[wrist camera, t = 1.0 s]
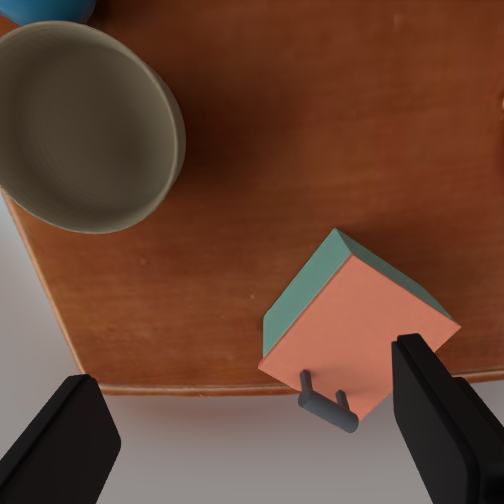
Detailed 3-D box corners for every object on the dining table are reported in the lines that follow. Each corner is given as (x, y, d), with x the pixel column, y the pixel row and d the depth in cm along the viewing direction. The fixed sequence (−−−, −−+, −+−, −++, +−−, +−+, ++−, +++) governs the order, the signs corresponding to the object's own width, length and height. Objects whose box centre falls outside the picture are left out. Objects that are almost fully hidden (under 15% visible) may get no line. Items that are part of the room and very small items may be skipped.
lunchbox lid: (355, 418, 32) (369, 461, 28) (257, 364, 30) (256, 402, 26) (457, 323, 28) (491, 357, 23) (351, 252, 26) (367, 276, 22)
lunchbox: (345, 365, 38) (360, 412, 32) (263, 317, 36) (262, 357, 30) (422, 285, 34) (457, 322, 28) (334, 226, 32) (351, 252, 26)
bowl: (193, 215, 32) (163, 253, 23) (62, 188, 31) (-22, 216, 22) (213, 71, 27) (186, 45, 18) (60, 37, 27) (-48, -8, 18)
